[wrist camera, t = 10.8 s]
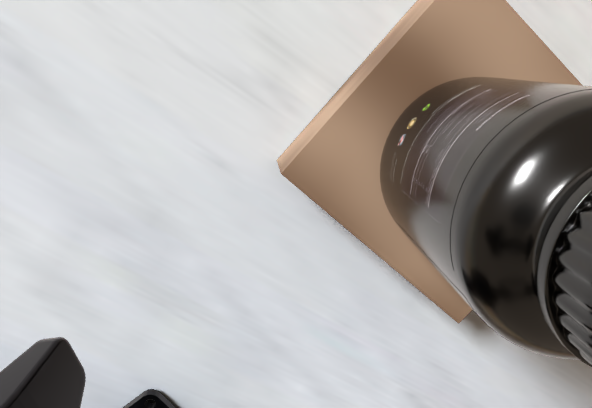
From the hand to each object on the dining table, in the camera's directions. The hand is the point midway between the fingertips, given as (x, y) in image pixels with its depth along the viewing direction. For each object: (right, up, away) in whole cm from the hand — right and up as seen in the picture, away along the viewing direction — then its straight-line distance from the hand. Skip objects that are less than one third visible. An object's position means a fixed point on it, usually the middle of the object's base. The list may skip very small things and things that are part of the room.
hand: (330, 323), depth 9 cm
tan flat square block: (+6, +4, +15) cm, 16 cm away
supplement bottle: (+6, +4, +13) cm, 14 cm away
